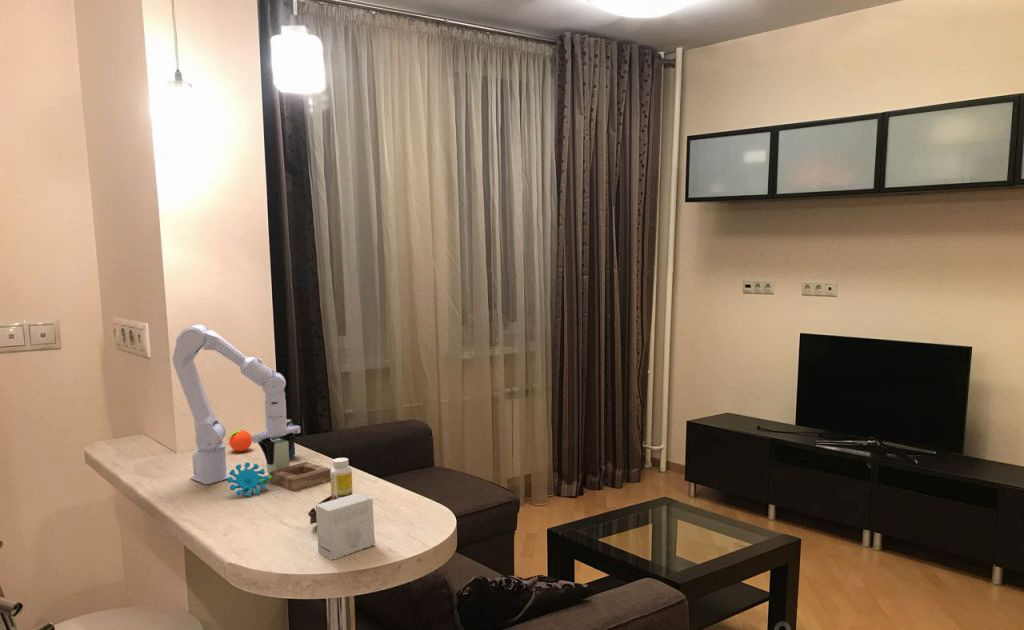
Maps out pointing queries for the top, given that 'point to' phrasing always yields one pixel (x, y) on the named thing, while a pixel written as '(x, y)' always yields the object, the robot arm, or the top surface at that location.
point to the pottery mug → (330, 498)
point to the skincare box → (345, 525)
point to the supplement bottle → (341, 478)
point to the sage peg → (279, 455)
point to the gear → (248, 479)
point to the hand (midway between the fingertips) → (277, 461)
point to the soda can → (292, 452)
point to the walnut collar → (299, 476)
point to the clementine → (240, 440)
